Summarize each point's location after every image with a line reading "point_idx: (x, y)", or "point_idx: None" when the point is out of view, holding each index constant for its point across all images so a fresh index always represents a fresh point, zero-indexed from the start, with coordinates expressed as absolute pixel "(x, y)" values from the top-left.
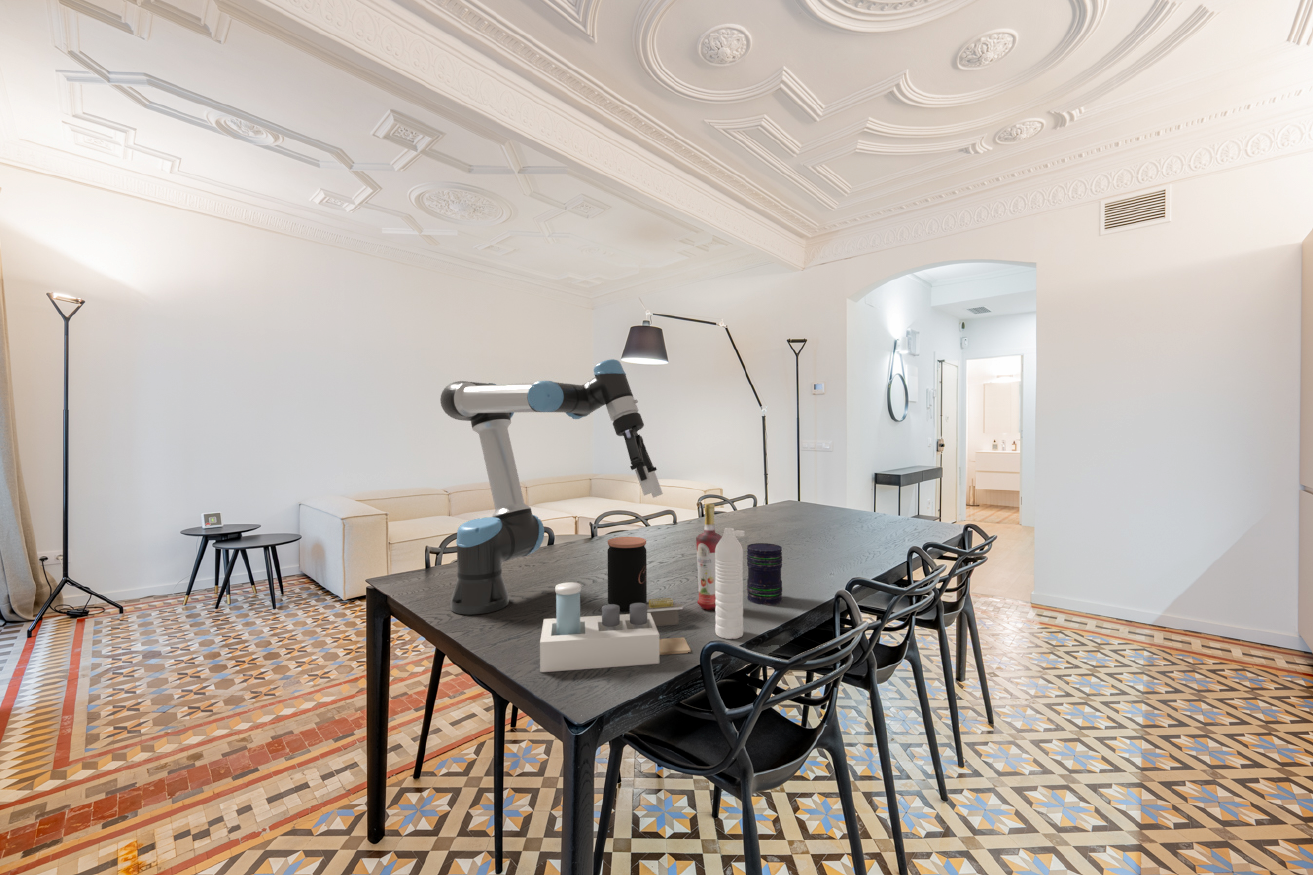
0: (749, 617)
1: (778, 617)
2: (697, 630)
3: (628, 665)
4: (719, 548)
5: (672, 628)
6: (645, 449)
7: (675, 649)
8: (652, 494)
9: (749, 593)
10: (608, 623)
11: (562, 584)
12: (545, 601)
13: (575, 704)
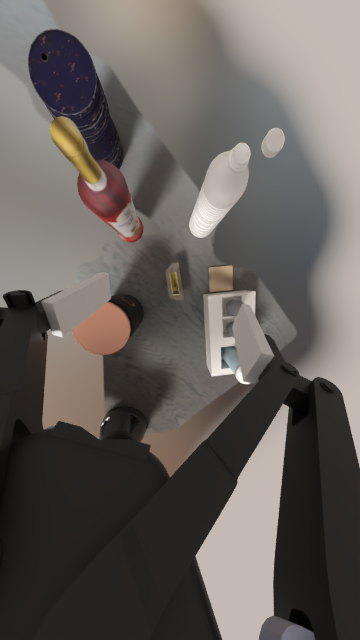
0: (161, 192)
1: (163, 158)
2: (189, 253)
3: None
4: (237, 196)
5: (183, 274)
6: (12, 402)
7: (230, 277)
8: (106, 300)
9: None
10: None
11: (241, 379)
12: (113, 381)
13: (283, 338)
